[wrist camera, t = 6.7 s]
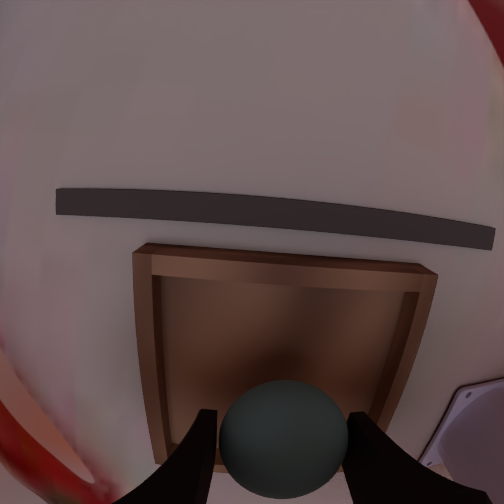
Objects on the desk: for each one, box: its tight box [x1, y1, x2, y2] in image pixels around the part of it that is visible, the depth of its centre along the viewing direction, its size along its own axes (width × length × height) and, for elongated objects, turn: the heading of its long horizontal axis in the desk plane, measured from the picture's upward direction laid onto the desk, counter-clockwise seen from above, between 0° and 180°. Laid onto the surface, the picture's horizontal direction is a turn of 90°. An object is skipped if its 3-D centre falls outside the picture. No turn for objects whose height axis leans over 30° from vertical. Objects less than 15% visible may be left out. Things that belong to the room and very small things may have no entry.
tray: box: [132, 243, 438, 473], centre depth 14 cm, size 13×13×2 cm
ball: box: [219, 380, 349, 499], centre depth 11 cm, size 5×5×5 cm
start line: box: [56, 189, 496, 251], centre depth 13 cm, size 22×1×1 cm, turn 85°
